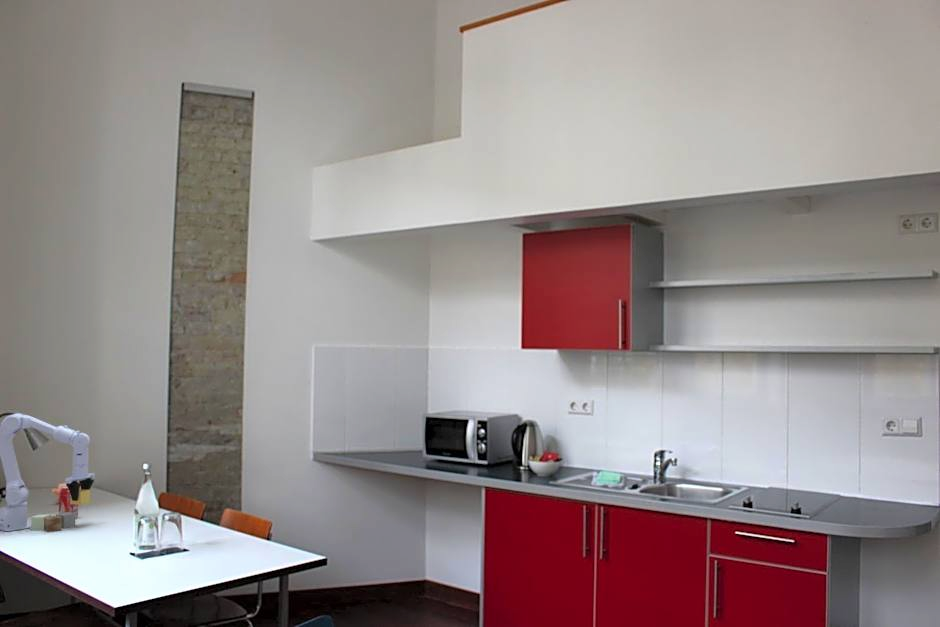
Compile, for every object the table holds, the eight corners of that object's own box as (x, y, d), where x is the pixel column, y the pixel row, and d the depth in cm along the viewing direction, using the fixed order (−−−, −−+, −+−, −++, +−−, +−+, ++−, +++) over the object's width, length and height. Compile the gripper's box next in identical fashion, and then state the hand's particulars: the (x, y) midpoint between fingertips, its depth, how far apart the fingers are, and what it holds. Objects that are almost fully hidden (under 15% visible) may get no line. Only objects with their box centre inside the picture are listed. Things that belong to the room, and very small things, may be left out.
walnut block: (47, 532, 333) (47, 519, 333) (44, 530, 337) (44, 517, 337) (61, 531, 336) (61, 517, 336) (58, 528, 340) (59, 515, 340)
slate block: (63, 528, 340) (64, 515, 340) (55, 527, 343) (55, 514, 343) (75, 526, 345) (75, 513, 345) (67, 524, 347) (67, 512, 347)
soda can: (81, 516, 362) (81, 485, 363) (71, 520, 355) (72, 488, 356) (64, 516, 363) (65, 484, 363) (55, 520, 356) (55, 487, 356)
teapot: (51, 505, 386) (51, 483, 387) (60, 500, 398) (60, 479, 399) (78, 505, 388) (79, 483, 388) (87, 500, 400) (87, 478, 400)
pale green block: (43, 530, 337) (44, 517, 337) (31, 530, 337) (31, 517, 337) (50, 527, 342) (50, 514, 342) (37, 527, 342) (38, 514, 342)
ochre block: (81, 504, 342) (81, 491, 342) (70, 504, 343) (70, 491, 343) (89, 502, 347) (90, 489, 347) (78, 501, 348) (79, 489, 348)
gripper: (76, 467, 337) (75, 503, 337) (101, 462, 351) (100, 496, 351) (60, 466, 339) (60, 502, 339) (86, 461, 353) (85, 495, 353)
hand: (79, 499), depth 345 cm, fingers closed on ochre block, 5 cm apart
